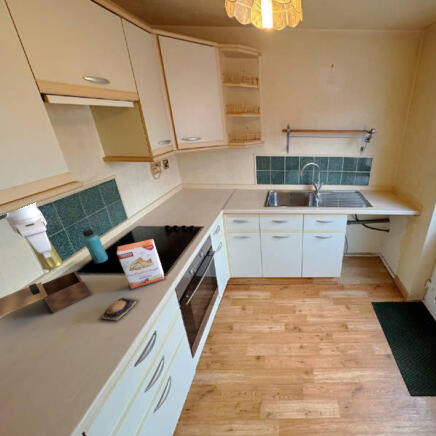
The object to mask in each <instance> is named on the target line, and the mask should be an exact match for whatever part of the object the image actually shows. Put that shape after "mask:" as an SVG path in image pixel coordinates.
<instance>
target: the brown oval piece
mask: <svg viewBox="0 0 436 436" xmlns="http://www.w3.org/2000/svg"><path fill="white" fill-rule="evenodd" d="M136 303H137V301H136V300H135V299H134V300H132V299H131V298H129V299H128V298H124V297H121V298H119V299H118V300H117V301H115V302H113V303H111V304H110V305H109V307H108V308H107V309H106V310H105V311H104V313H103V314H102V316H101V319H102V320H108V321H114V322H115V321H118V320H120V319H121V318H122V317H123V316H124V315H126V313H128V312H129V311H130V309H132V308H133V306H134V305H136Z"/></svg>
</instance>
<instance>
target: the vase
mask: <svg viewBox="0 0 436 436" xmlns="http://www.w3.org/2000/svg"><path fill="white" fill-rule="evenodd" d="M48 239H49V237H48ZM49 242H50V245H51V250H50V251H49V252H50V254H51V257H48V258H45V257H44V255H43V254H42V253H41V254H39V253H38V252H37V251H36V250H35V249H34V248H33V247H32V245H31V244H30V243H29V242H28V244H29V246H30V247H31V249H32V251H33V252H34V254H35V256H36V258H37V260H38V262H39V264H40V265H41V268H42V270H52V269H55V268H57V267H59V266H61V265H62V264H63V260H62V259H61V257H60V255H59V254H58V253H57V251H56V249H55V247H54V245H53V244H52V241H51V240H50V239H49Z"/></svg>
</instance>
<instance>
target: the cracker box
mask: <svg viewBox="0 0 436 436" xmlns="http://www.w3.org/2000/svg"><path fill="white" fill-rule="evenodd" d="M116 255H117V257H118V260H119V263H120V265H121V267H122V270H123V272H124V275H125V278H126V280H127V283H128V285H129V287H130V289H131V290H133V289H136V288H139V287H143V286H146V285H149V284H152V283H156V282H159V281H163V280H165V275H164V269H163V267H162V263H161V260H160V257H159V254H158V250H157V247H156V245H155V241H154V239H153V238H150V239H146V240H142V241H138V242H133V243H128V244H123V245H120V246H117V249H116Z"/></svg>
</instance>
